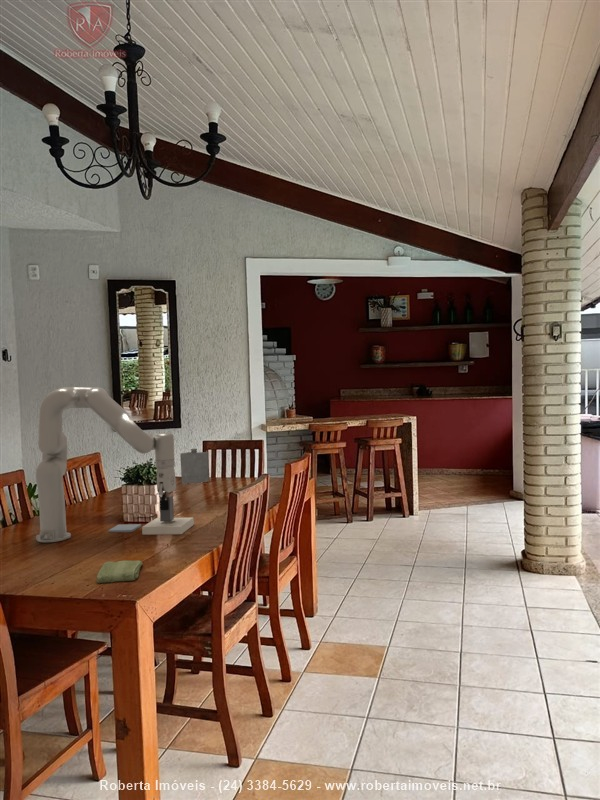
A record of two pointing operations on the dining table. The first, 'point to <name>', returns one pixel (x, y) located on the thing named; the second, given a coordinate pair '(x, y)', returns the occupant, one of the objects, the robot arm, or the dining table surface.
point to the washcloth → (119, 571)
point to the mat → (125, 528)
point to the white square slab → (167, 526)
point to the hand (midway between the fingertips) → (166, 508)
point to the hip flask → (194, 467)
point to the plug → (168, 514)
